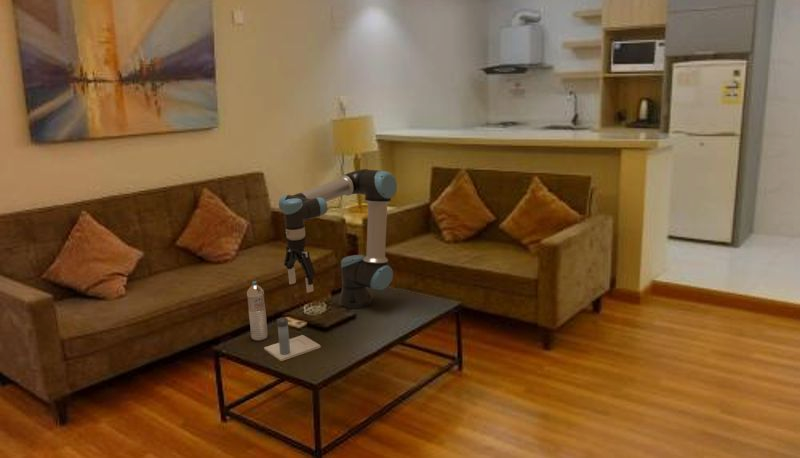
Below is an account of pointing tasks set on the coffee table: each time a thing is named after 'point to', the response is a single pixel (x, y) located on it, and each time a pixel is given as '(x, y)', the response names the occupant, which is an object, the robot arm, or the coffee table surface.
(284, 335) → the cylinder
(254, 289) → the water bottle
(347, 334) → the coffee table surface
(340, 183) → the robot arm
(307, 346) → the notepad
